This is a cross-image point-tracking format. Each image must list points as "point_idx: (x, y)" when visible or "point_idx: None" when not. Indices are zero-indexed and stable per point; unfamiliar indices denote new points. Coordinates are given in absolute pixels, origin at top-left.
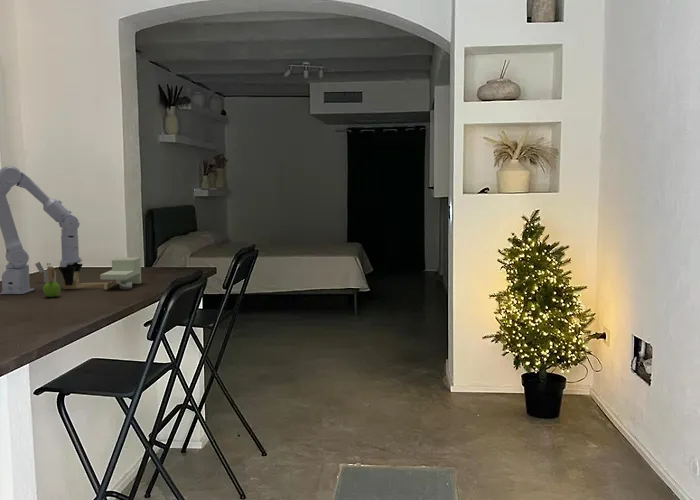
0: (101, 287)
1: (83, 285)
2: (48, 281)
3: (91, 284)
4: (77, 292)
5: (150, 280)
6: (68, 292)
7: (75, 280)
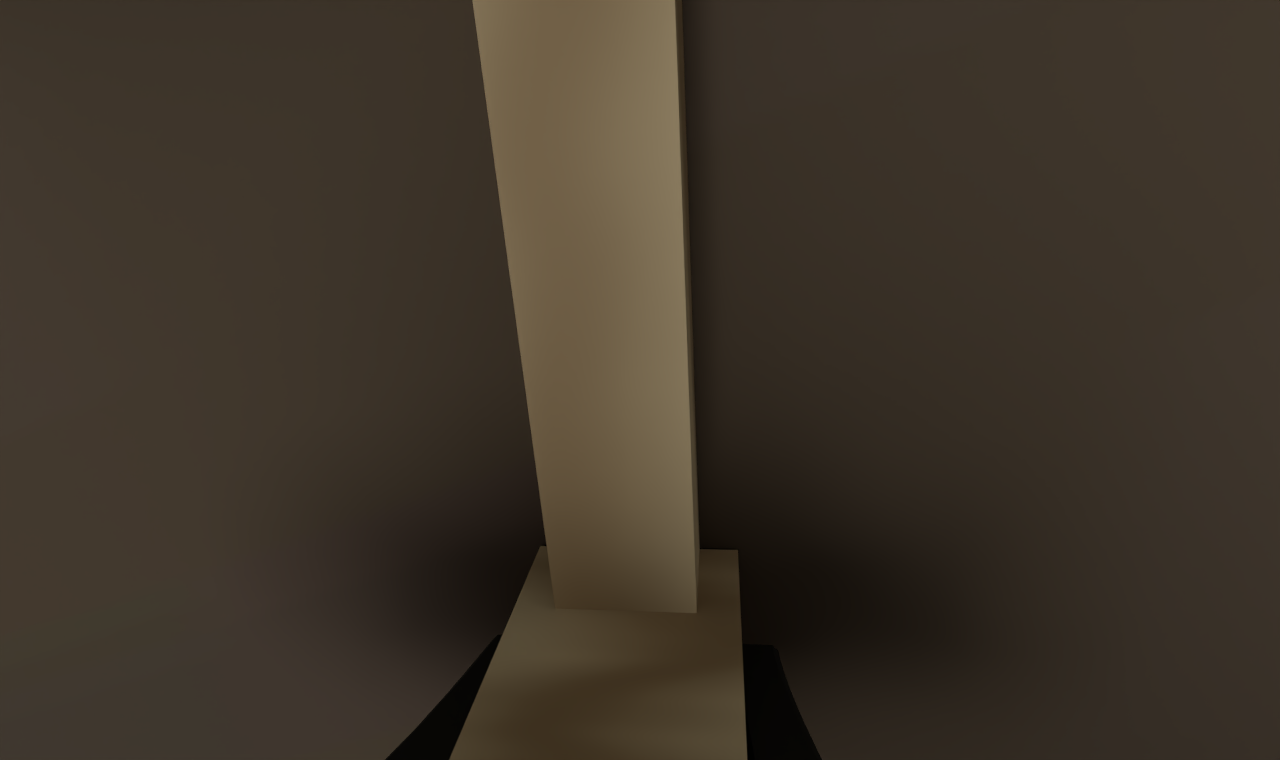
0: (679, 10)
1: (691, 448)
2: None
3: (684, 281)
4: (1233, 360)
5: None
6: (1184, 526)
7: (690, 667)
